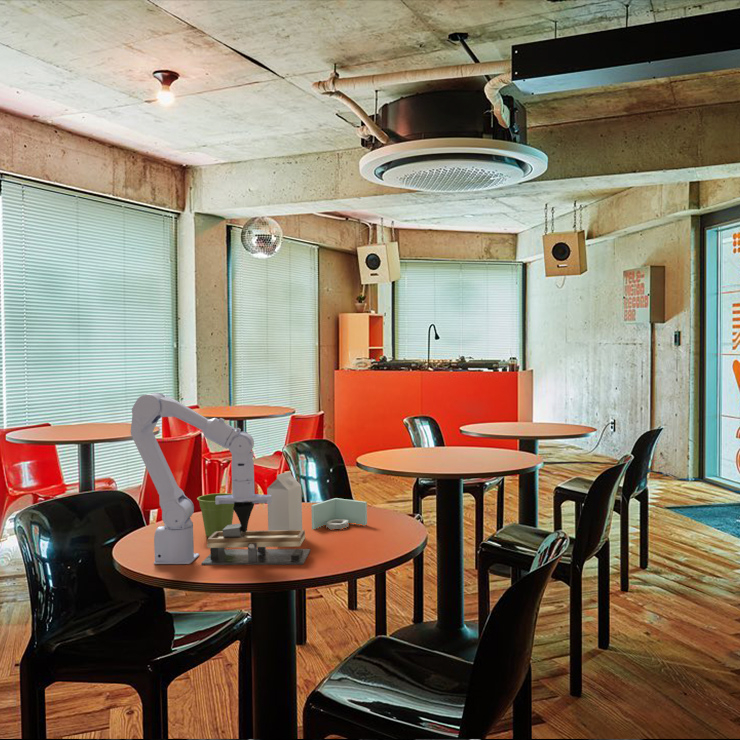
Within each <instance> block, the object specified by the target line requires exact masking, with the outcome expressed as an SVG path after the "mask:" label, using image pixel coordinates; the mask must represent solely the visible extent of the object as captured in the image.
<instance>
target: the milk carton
mask: <svg viewBox="0 0 740 740" xmlns="http://www.w3.org/2000/svg"><path fill="white" fill-rule="evenodd" d="M266 492H267V494H266V495H272V503H271V504H267V531H268V530H303V506H302V504H303V502H302V484H301V483H300V482H298V481H297V479H296V478H295V477H294V476H293V475H292V471H291V470H289V471H286V472H282V473H280V474H276V479H275V480H274V481H273V482H272V483H271V484H270V485H268V487H267V488H266Z"/></svg>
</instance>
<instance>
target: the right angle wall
mask: <svg viewBox="0 0 740 740" xmlns="http://www.w3.org/2000/svg"><path fill="white" fill-rule="evenodd" d="M367 503H368V502H367V501H362V500H355V499H347V498H346V499H344V498H341V497H340V498H338V497H335V498H330V499H328V500H323V501H321V502H318V503H314V504H311V505H310V506H311V508H310V509H311V530H313V529H315V530H317V529H319V528H318V527H320V528H322V527H321V526H323V525H326V528H327V527H328V528H329V529H330V530H332V529H342V528H345V527H349V526H350V525H349V524H348V523H356V524H362V525H366V524H367V525H368V505H367ZM323 527H324V526H323ZM316 528H317V529H316ZM329 529H328V530H329Z"/></svg>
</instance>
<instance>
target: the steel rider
mask: <svg viewBox="0 0 740 740" xmlns="http://www.w3.org/2000/svg"><path fill="white" fill-rule="evenodd" d="M222 531H223V538H243V537H244V535H245V534H246V532H242V527H241V524H240V522H239V523H232V524H231V525H227V526H226V527H225V528H224V529H223V530H222Z"/></svg>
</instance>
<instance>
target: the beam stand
mask: <svg viewBox="0 0 740 740" xmlns="http://www.w3.org/2000/svg"><path fill="white" fill-rule="evenodd" d="M209 549H210V551H209V552H210V553H209V554H208V555H207V557H206V558H205V559H203V560H202V561H201V562H200V564H201V566H203V565H204V564H205V565H206V566H208V565H209V566H224V565H225V566H236V565H238V566H240V565H241V566H244V565H245V566H247V565H248V566H252V565H253V566H254V565H255V566H256V565H258V566H261V565H263V566H264V565H265V566H266V565H267V566H273V565H274V566H275V565H276V566H280V565H283V566H284V565H285V566H287V565H288V566H290V565H291V566H292V565H293V566H296V565H298V566H299V565H302V566H303V565H304V564H305V562H306V560H307V558H308V556H309V554H310V552H311V548H281V549H280V548H267V547H257V543H249V544H248V547H247V548H245V549H244V548H241V549H238V548H234V549H232V548H231V549H229V548H228V549H227V548H209ZM205 565H204V566H205Z"/></svg>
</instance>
